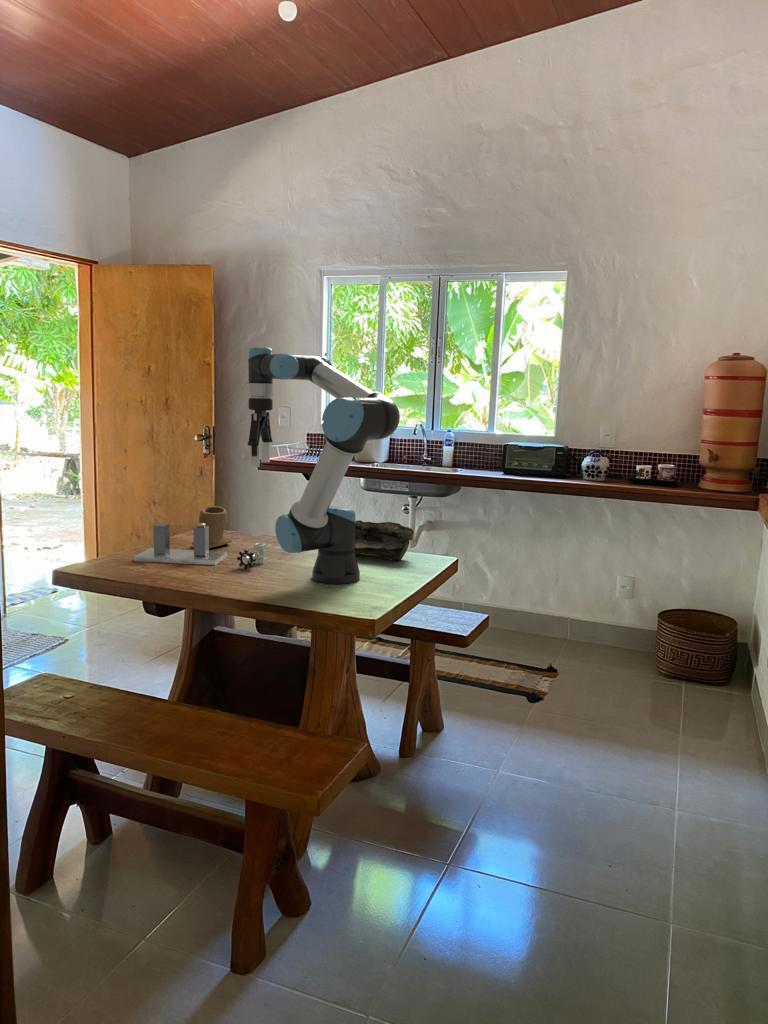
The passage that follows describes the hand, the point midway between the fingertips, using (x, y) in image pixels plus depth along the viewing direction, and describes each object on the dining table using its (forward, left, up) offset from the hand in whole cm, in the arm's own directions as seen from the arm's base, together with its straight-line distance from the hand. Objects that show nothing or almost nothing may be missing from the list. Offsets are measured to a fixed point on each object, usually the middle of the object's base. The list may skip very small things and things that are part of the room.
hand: (260, 464), depth 243 cm
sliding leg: (+10, +23, -33) cm, 41 cm away
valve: (+6, +4, -35) cm, 36 cm away
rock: (+25, -36, -35) cm, 56 cm away
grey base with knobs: (+10, +30, -35) cm, 47 cm away
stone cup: (+31, +25, -35) cm, 53 cm away
